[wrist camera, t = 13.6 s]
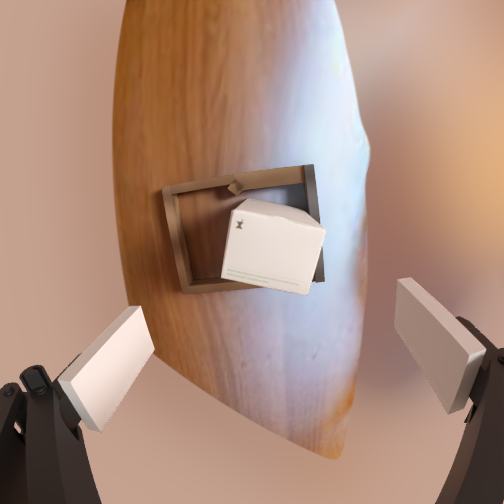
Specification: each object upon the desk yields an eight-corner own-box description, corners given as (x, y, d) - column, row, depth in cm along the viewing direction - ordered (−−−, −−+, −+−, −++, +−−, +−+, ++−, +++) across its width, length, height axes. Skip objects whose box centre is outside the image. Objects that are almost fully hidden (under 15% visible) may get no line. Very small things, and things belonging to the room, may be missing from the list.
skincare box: (237, 240, 40) (214, 279, 25) (247, 193, 38) (228, 205, 23) (296, 253, 40) (307, 300, 25) (307, 207, 38) (328, 228, 23)
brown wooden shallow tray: (168, 186, 38) (160, 187, 36) (310, 165, 36) (313, 164, 33) (187, 287, 42) (181, 295, 39) (321, 274, 40) (324, 281, 37)
